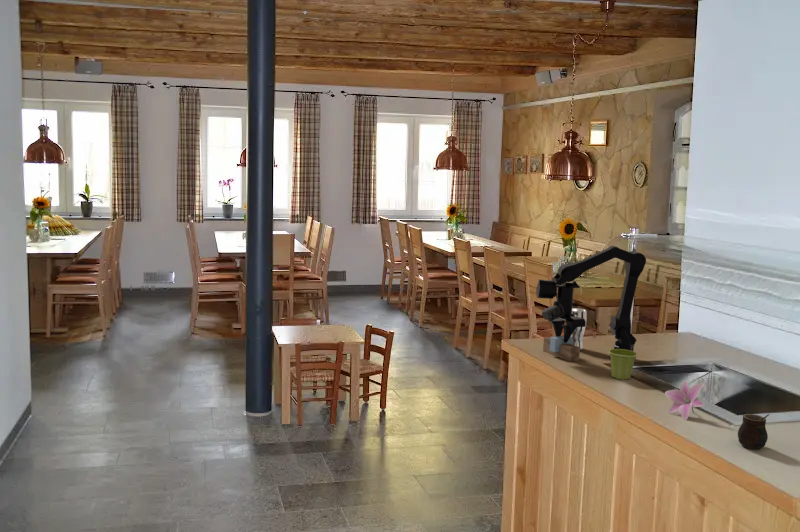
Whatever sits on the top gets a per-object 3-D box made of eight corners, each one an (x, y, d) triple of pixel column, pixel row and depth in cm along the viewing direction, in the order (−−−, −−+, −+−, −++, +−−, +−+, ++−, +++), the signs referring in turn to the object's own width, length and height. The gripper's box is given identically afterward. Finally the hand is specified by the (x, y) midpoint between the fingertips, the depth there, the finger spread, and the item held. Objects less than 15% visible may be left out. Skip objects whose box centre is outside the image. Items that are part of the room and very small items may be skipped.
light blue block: (567, 348, 299) (568, 335, 299) (572, 350, 297) (573, 337, 296) (549, 350, 296) (550, 336, 295) (554, 352, 293) (555, 338, 293)
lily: (661, 409, 242) (656, 384, 238) (699, 395, 242) (694, 371, 237) (679, 434, 231) (673, 409, 227) (718, 420, 231) (713, 395, 226)
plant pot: (635, 375, 274) (637, 350, 273) (635, 382, 265) (637, 357, 264) (606, 372, 277) (609, 347, 276) (606, 379, 268) (608, 353, 267)
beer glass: (587, 349, 308) (590, 311, 306) (572, 350, 305) (575, 311, 303) (577, 345, 314) (580, 307, 312) (562, 346, 311) (565, 308, 309)
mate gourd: (744, 439, 215) (748, 403, 214) (772, 448, 210) (777, 411, 208) (731, 445, 211) (735, 408, 209) (759, 454, 205) (764, 416, 204)
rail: (551, 350, 305) (552, 337, 304) (578, 360, 291) (579, 347, 290) (542, 350, 303) (543, 337, 302) (569, 361, 289) (571, 348, 288)
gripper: (531, 295, 298) (528, 336, 301) (563, 305, 282) (559, 348, 284) (555, 294, 303) (552, 335, 306) (588, 303, 287) (584, 346, 289)
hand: (561, 341), depth 296 cm, fingers open, 4 cm apart
